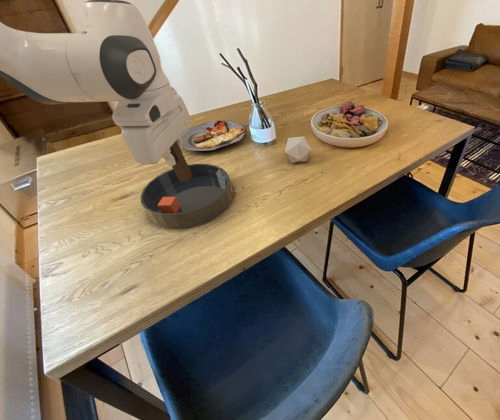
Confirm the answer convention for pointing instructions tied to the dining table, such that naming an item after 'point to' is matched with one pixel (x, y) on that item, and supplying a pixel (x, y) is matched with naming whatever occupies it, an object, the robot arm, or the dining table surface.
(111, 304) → the dining table surface
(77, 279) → the dining table surface
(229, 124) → the food plate
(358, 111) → the bowl
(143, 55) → the robot arm
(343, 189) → the dining table surface
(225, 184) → the bowl
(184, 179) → the stick
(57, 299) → the dining table surface
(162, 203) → the block
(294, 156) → the die
